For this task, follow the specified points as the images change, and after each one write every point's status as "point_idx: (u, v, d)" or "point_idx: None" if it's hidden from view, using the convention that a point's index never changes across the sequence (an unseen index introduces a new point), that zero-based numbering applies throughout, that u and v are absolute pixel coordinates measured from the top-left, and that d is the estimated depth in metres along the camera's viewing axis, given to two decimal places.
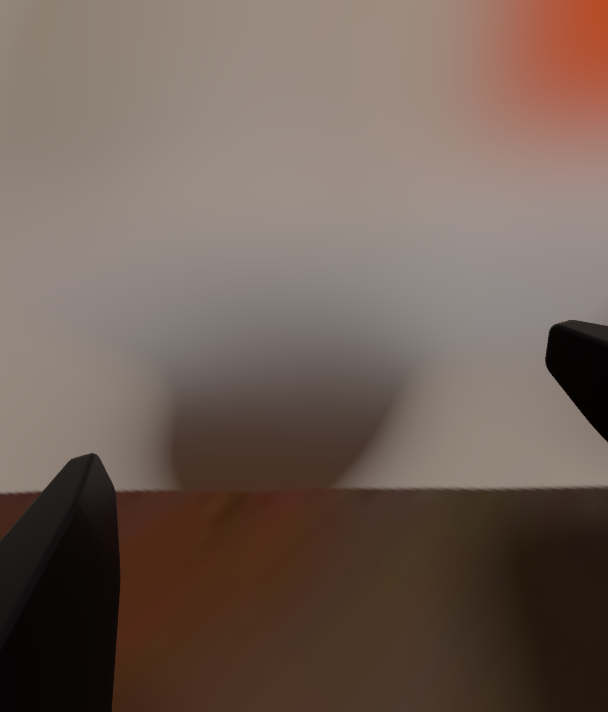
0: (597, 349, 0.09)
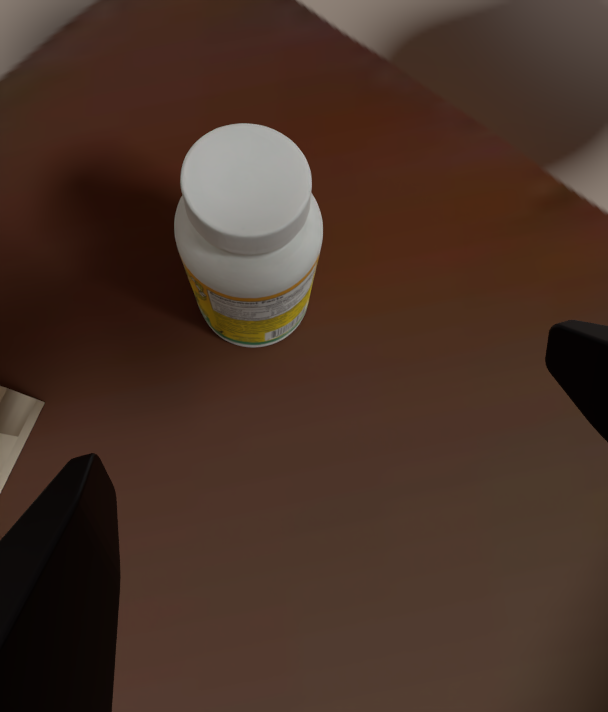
0: (597, 349, 0.09)
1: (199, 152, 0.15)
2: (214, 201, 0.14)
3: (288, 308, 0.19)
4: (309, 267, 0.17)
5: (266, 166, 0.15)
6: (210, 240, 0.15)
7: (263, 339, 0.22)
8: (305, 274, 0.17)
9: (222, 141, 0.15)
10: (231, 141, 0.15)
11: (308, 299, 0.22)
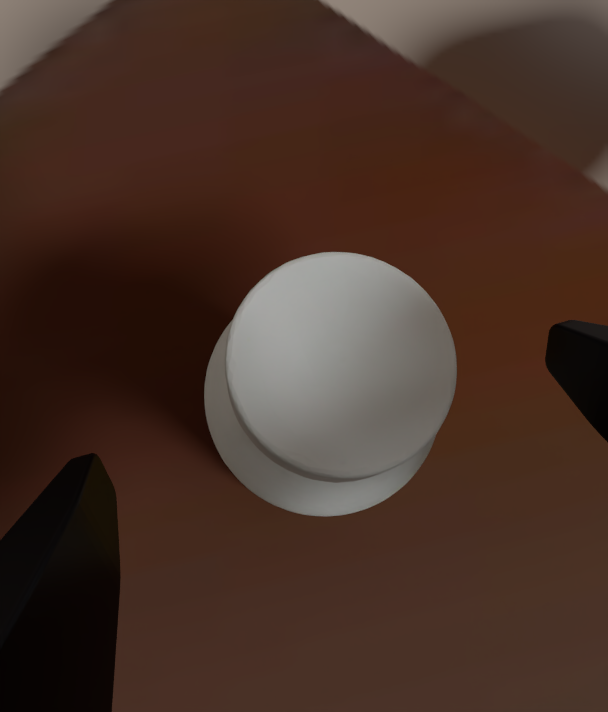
0: (597, 349, 0.09)
1: (258, 311, 0.08)
2: (288, 408, 0.08)
3: None
4: (423, 461, 0.11)
5: (376, 333, 0.08)
6: (275, 461, 0.08)
7: None
8: (415, 471, 0.11)
9: (298, 287, 0.08)
10: (313, 287, 0.08)
11: None
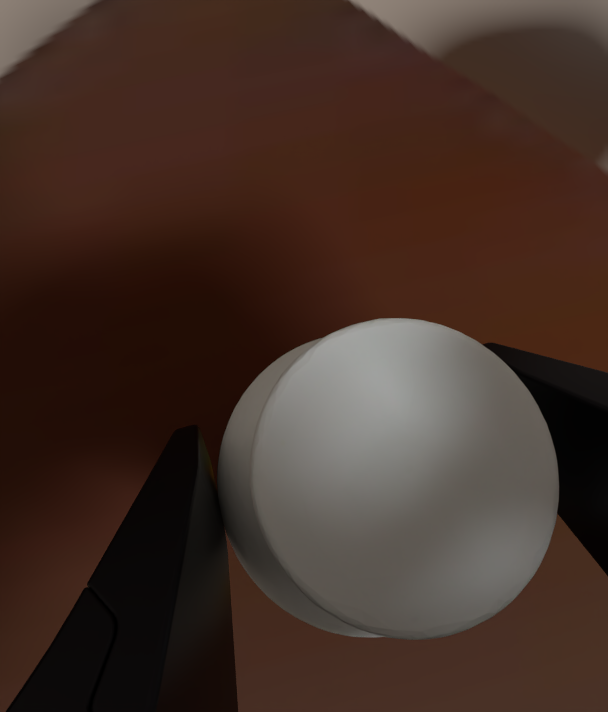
0: None
1: (294, 402, 0.06)
2: (338, 540, 0.06)
3: None
4: None
5: (452, 431, 0.06)
6: None
7: None
8: None
9: (346, 369, 0.06)
10: (366, 368, 0.06)
11: None
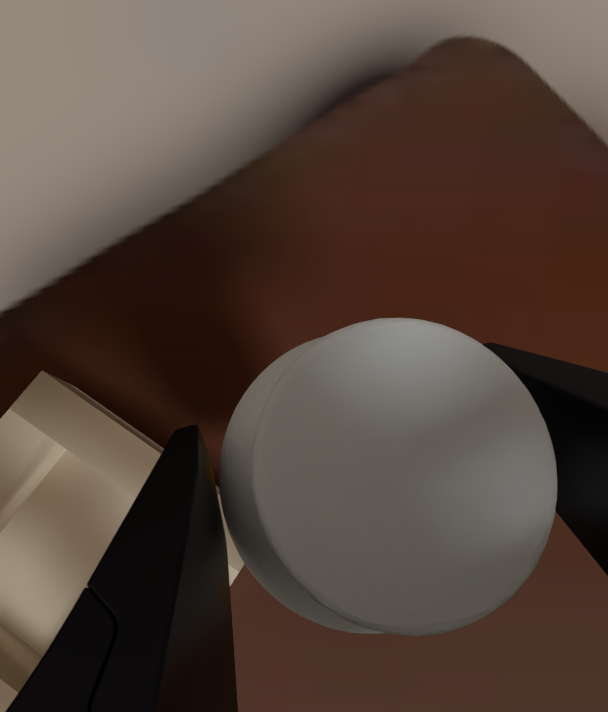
0: None
1: (295, 401, 0.06)
2: (338, 538, 0.06)
3: None
4: None
5: (451, 430, 0.06)
6: None
7: None
8: None
9: (346, 367, 0.06)
10: (366, 367, 0.06)
11: None
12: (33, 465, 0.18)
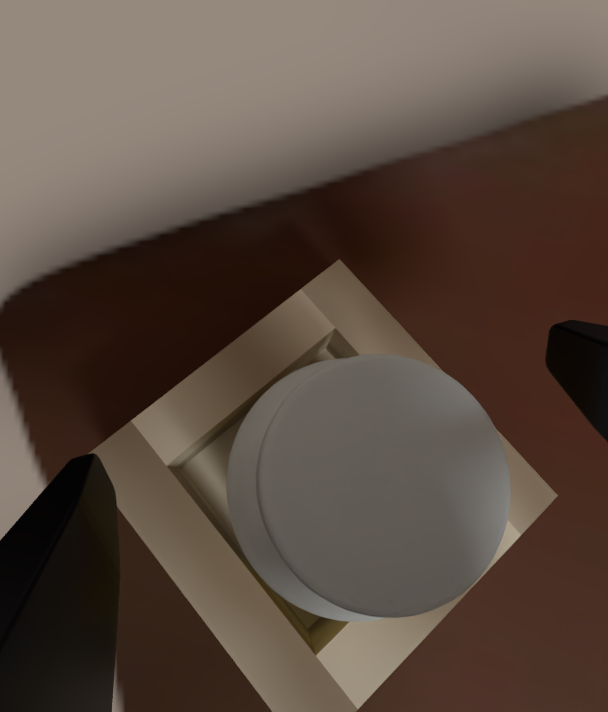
0: (597, 349, 0.09)
1: (293, 425, 0.07)
2: (329, 538, 0.07)
3: None
4: None
5: (423, 448, 0.08)
6: None
7: None
8: None
9: (336, 396, 0.08)
10: (353, 396, 0.08)
11: None
12: (304, 357, 0.16)
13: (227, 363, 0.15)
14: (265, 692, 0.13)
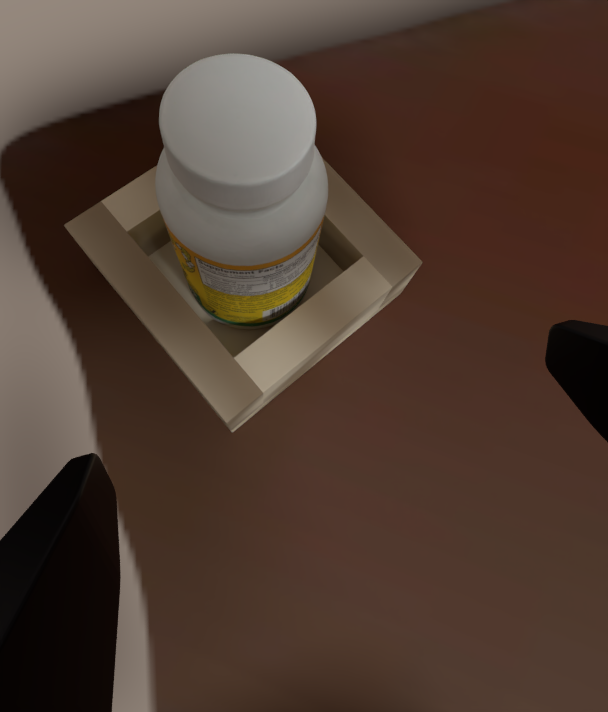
0: (597, 349, 0.09)
1: (181, 86, 0.12)
2: (200, 143, 0.12)
3: (289, 281, 0.17)
4: (313, 229, 0.15)
5: (262, 103, 0.12)
6: (196, 192, 0.13)
7: (261, 319, 0.19)
8: (308, 237, 0.15)
9: (208, 73, 0.12)
10: (219, 74, 0.13)
11: (310, 273, 0.19)
12: None
13: None
14: (195, 379, 0.18)
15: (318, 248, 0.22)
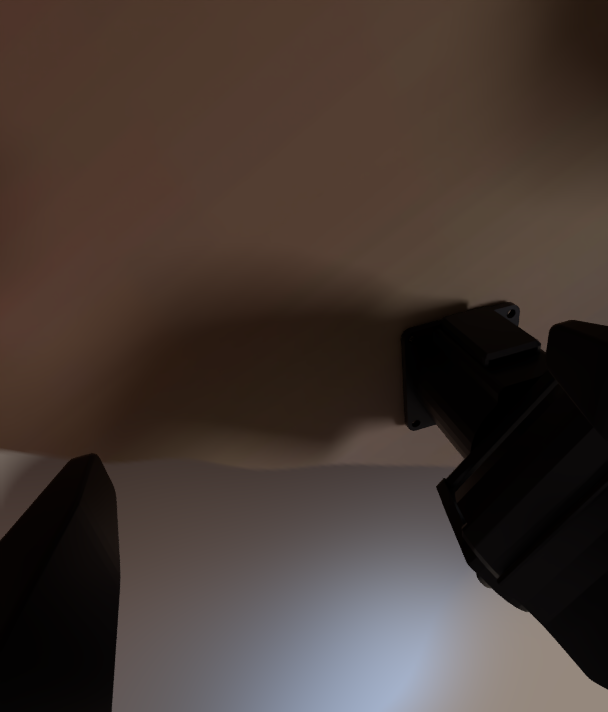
0: (597, 349, 0.09)
1: None
2: None
3: None
4: None
5: None
6: None
7: None
8: None
9: None
10: None
11: None
12: None
13: None
14: None
15: None
